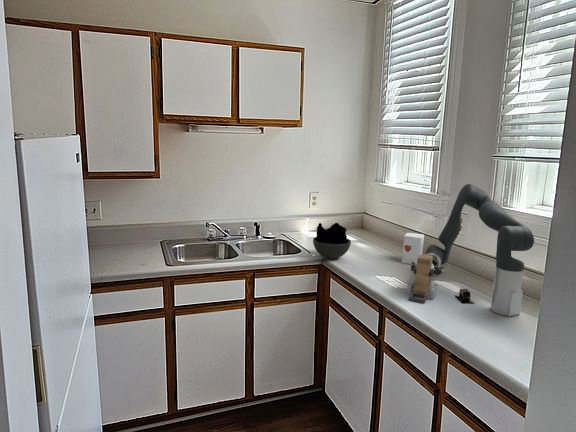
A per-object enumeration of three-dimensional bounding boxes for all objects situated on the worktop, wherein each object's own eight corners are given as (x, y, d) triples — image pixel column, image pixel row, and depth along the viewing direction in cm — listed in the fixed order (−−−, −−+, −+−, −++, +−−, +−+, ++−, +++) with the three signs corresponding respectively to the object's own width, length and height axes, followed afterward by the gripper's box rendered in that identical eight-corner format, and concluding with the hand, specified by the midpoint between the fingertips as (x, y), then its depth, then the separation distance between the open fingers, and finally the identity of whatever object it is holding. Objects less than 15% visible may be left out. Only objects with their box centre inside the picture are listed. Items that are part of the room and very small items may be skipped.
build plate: (478, 307, 167) (480, 296, 166) (459, 306, 167) (461, 295, 166) (467, 295, 179) (468, 285, 178) (449, 294, 179) (450, 284, 178)
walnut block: (417, 286, 179) (420, 254, 177) (429, 288, 177) (432, 256, 174) (414, 289, 175) (417, 257, 172) (427, 292, 173) (430, 259, 170)
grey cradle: (412, 288, 184) (413, 279, 183) (437, 293, 179) (438, 284, 178) (407, 294, 176) (408, 285, 175) (433, 299, 171) (434, 290, 171)
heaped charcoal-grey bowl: (355, 257, 229) (357, 223, 226) (340, 266, 212) (342, 229, 209) (322, 251, 239) (323, 218, 236) (305, 259, 222) (307, 224, 219)
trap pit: (412, 295, 175) (412, 292, 174) (427, 298, 172) (427, 295, 172) (408, 300, 170) (409, 296, 169) (424, 303, 167) (424, 300, 166)
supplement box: (400, 262, 222) (403, 235, 219) (404, 258, 230) (407, 232, 227) (418, 265, 218) (421, 237, 215) (421, 261, 225) (424, 234, 223)
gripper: (414, 252, 190) (405, 261, 175) (448, 257, 183) (441, 267, 168) (413, 268, 191) (404, 278, 176) (446, 274, 184) (439, 285, 170)
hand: (422, 273), depth 172 cm, fingers closed on walnut block, 5 cm apart
